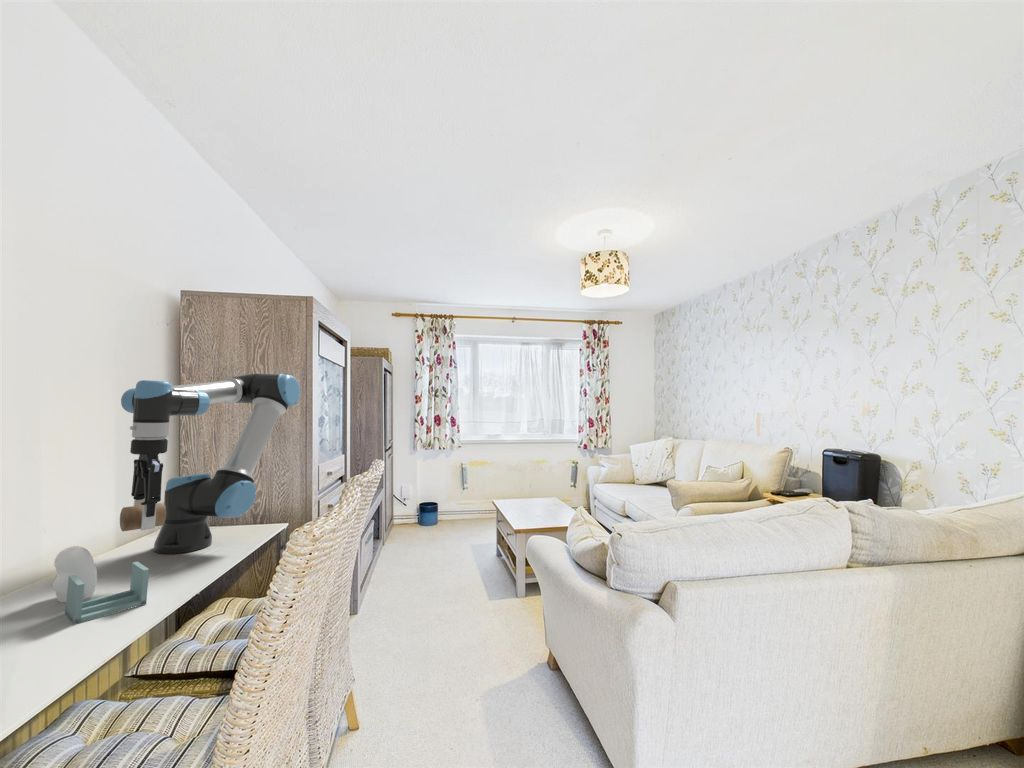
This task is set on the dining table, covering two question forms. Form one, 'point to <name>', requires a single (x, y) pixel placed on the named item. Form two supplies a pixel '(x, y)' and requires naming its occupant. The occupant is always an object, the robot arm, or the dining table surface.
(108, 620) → the dining table surface
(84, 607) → the cradle
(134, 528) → the roll
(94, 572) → the figurine
